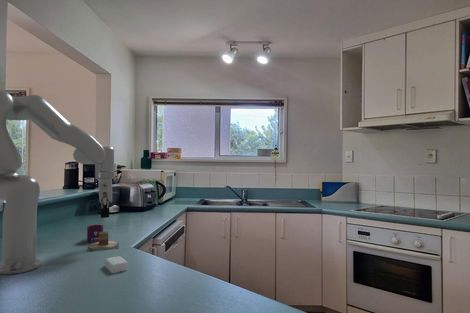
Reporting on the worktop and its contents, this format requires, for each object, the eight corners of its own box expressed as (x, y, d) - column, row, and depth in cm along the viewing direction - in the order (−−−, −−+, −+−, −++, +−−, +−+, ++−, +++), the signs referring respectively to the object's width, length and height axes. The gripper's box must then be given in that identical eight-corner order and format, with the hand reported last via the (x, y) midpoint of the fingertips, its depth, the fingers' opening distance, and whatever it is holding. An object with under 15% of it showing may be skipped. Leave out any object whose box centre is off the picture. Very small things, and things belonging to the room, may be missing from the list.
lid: (117, 248, 129) (117, 234, 129) (88, 251, 125) (88, 236, 125) (117, 242, 140) (117, 228, 140) (90, 244, 136) (90, 230, 136)
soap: (128, 270, 105) (128, 261, 105) (111, 274, 102) (111, 265, 102) (120, 263, 112) (120, 255, 112) (104, 266, 109) (104, 258, 109)
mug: (87, 243, 138) (87, 228, 138) (86, 238, 147) (86, 224, 147) (103, 242, 141) (103, 226, 141) (101, 237, 150) (102, 223, 150)
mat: (119, 249, 129) (119, 248, 129) (87, 252, 125) (87, 251, 125) (118, 242, 140) (118, 241, 140) (89, 244, 136) (89, 244, 136)
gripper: (114, 176, 126) (115, 218, 127) (114, 174, 143) (114, 211, 143) (94, 177, 124) (94, 220, 124) (96, 174, 140) (96, 212, 140)
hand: (105, 215), depth 133 cm, fingers open, 9 cm apart
